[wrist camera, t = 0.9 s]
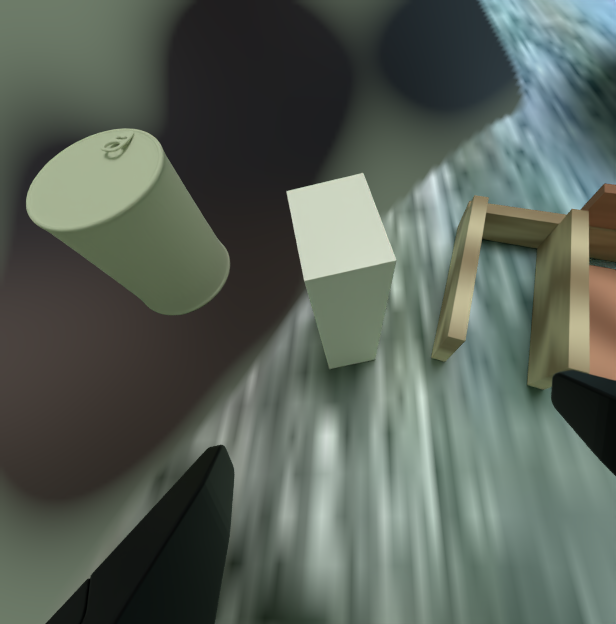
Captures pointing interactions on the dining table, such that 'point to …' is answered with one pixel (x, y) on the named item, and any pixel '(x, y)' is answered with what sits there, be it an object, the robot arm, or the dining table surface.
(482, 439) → the dining table surface
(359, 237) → the tall off-white box
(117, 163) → the can
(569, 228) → the rack
